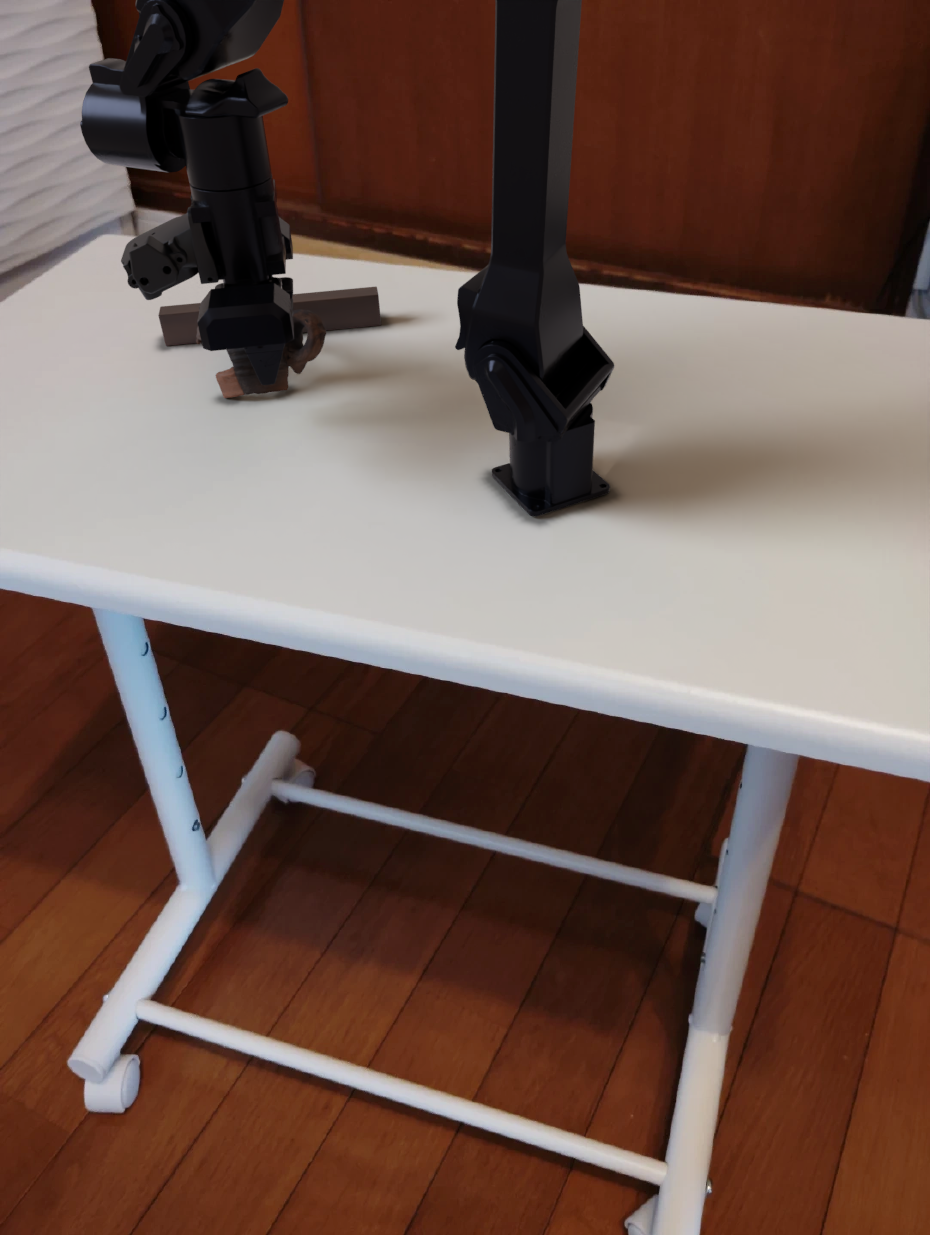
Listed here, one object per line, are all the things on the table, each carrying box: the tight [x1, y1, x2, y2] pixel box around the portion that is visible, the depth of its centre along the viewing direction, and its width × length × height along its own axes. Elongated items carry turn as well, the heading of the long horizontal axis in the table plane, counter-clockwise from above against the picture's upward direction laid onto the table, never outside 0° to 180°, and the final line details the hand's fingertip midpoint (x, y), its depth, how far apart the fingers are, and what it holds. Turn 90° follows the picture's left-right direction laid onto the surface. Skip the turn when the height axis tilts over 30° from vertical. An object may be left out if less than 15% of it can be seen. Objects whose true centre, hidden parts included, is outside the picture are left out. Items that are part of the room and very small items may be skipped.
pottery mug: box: [195, 307, 327, 399], centre depth 87 cm, size 12×10×8 cm
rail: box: [157, 286, 382, 347], centre depth 94 cm, size 2×20×3 cm, turn 98°
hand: (268, 382), depth 81 cm, fingers closed
